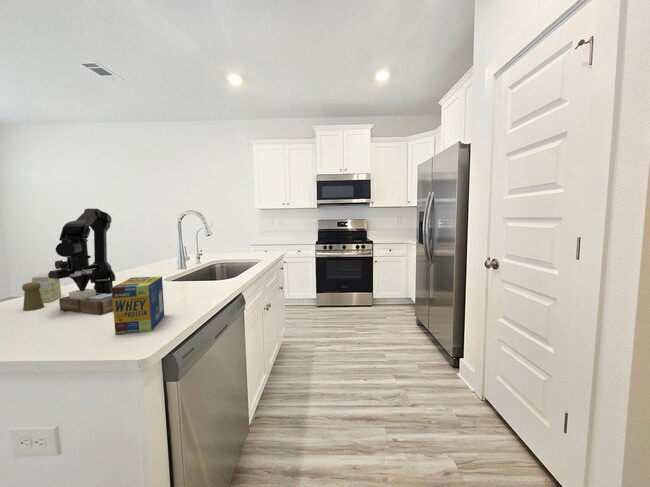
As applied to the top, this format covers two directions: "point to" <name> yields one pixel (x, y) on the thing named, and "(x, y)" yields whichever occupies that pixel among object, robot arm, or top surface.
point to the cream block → (82, 294)
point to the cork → (32, 296)
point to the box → (48, 287)
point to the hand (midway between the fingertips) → (82, 290)
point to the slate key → (101, 297)
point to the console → (86, 305)
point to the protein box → (138, 304)
